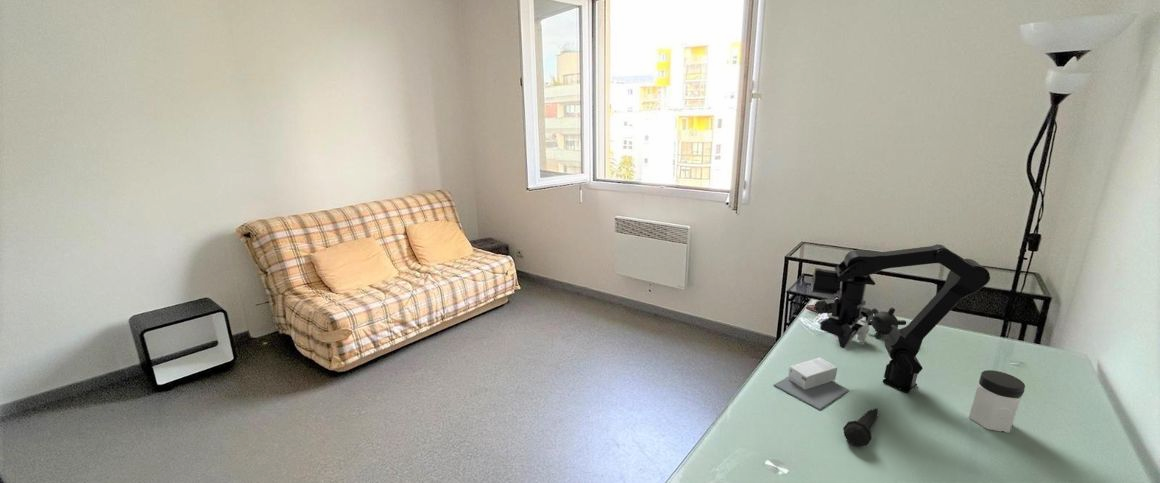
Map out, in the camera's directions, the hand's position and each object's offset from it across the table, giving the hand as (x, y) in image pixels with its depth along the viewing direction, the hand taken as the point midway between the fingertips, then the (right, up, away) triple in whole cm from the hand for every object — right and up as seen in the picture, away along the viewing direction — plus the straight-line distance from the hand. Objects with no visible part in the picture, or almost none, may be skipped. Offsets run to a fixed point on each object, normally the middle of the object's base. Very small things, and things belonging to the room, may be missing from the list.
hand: (842, 347), depth 136 cm
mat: (-11, -10, -5) cm, 16 cm away
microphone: (-6, -16, -21) cm, 27 cm away
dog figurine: (+13, -2, +22) cm, 26 cm away
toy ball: (+27, -2, +25) cm, 37 cm away
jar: (+27, -15, -17) cm, 35 cm away
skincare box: (-4, -6, 0) cm, 7 cm away
